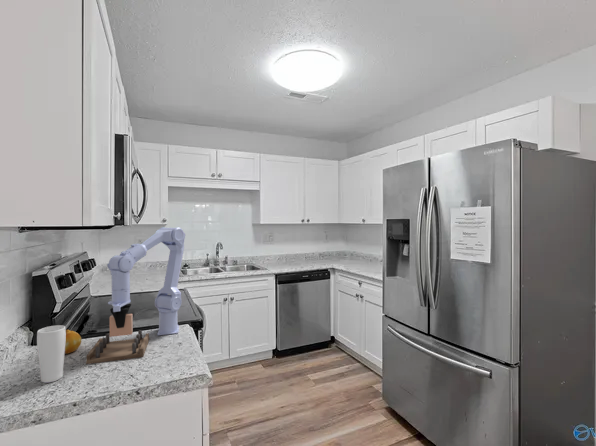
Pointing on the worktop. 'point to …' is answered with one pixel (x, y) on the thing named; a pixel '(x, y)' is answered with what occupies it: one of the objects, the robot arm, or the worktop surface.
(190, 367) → the worktop surface
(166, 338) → the worktop surface
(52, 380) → the drinking glass
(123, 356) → the rack
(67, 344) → the fruit
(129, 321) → the pink square slab
